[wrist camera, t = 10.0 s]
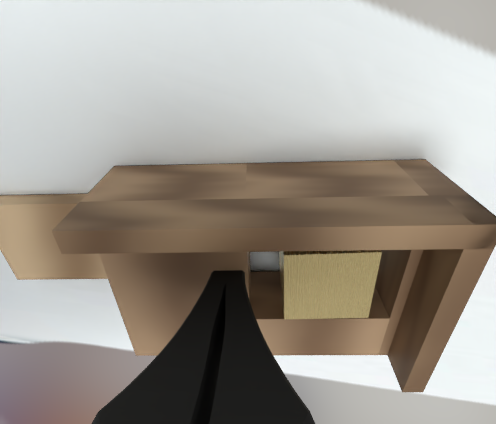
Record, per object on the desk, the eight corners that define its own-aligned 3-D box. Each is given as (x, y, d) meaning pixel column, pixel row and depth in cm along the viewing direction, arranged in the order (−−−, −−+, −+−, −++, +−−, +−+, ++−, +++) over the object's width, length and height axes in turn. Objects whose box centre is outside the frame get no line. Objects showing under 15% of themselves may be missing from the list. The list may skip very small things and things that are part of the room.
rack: (49, 307, 21) (-11, 391, 16) (-25, 169, 15) (-148, 234, 11) (383, 304, 20) (422, 392, 15) (425, 159, 15) (505, 224, 10)
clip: (284, 319, 15) (368, 317, 15) (283, 255, 13) (382, 252, 13) (279, 264, 18) (347, 262, 18) (278, 206, 16) (355, 203, 16)
